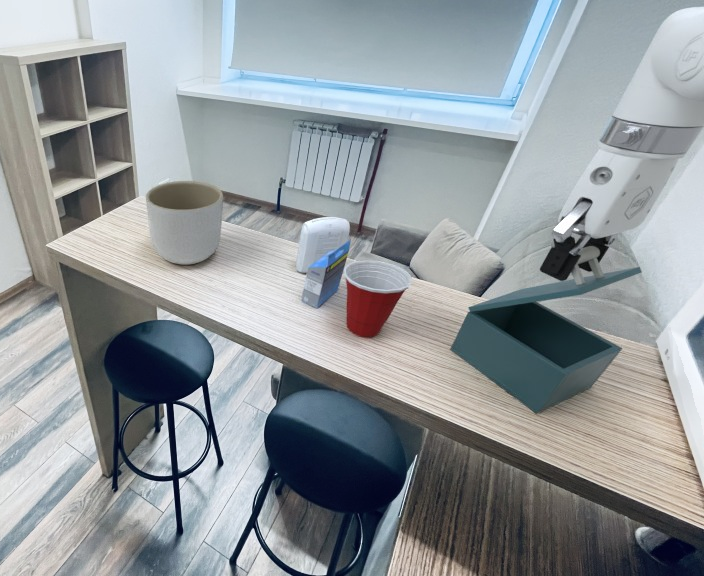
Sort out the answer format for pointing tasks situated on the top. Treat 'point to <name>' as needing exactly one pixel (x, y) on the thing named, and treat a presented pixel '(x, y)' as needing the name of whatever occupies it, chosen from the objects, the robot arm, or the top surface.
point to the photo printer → (320, 240)
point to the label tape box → (325, 276)
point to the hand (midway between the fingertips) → (566, 270)
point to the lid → (562, 284)
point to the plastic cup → (372, 294)
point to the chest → (533, 353)
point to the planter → (185, 220)
